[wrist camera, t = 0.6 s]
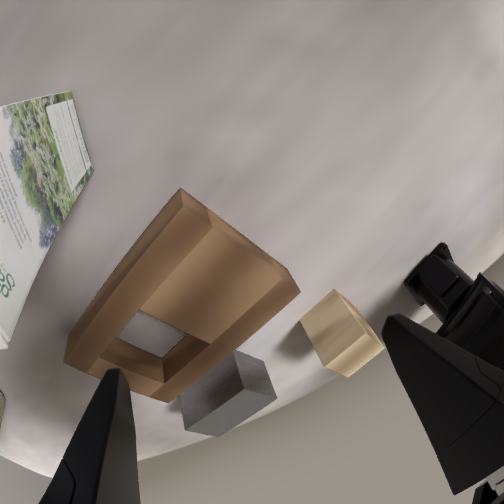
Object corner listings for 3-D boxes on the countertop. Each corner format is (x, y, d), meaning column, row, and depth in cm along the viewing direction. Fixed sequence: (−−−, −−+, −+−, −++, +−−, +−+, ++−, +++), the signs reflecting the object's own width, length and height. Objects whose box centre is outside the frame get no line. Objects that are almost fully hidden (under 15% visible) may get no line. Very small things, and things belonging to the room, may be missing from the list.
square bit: (355, 306, 31) (385, 347, 26) (323, 334, 32) (348, 377, 27) (334, 288, 28) (365, 333, 23) (299, 319, 29) (324, 366, 24)
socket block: (287, 269, 25) (300, 292, 23) (165, 379, 29) (168, 403, 27) (180, 187, 19) (183, 206, 17) (68, 336, 23) (63, 362, 21)
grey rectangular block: (263, 360, 32) (277, 398, 28) (210, 400, 34) (218, 436, 30) (231, 347, 29) (244, 389, 25) (179, 391, 31) (184, 430, 27)
